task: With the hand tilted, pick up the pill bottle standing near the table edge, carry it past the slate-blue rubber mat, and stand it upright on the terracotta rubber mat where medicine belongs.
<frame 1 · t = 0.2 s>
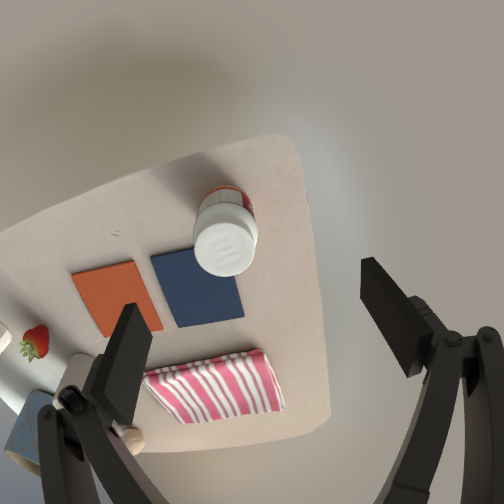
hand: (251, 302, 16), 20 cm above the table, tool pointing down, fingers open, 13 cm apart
planter: (59, 409, 54), on the table
garlic bulb: (135, 430, 57), on the table
slate blue mat: (199, 287, 39), on the table
fruit: (46, 326, 41), on the table
pill bottle: (226, 208, 35), on the table
terracotta mat: (117, 302, 39), on the table
pepper shaker: (3, 331, 41), on the table
mug: (97, 368, 46), on the table
dish towel: (213, 386, 49), on the table
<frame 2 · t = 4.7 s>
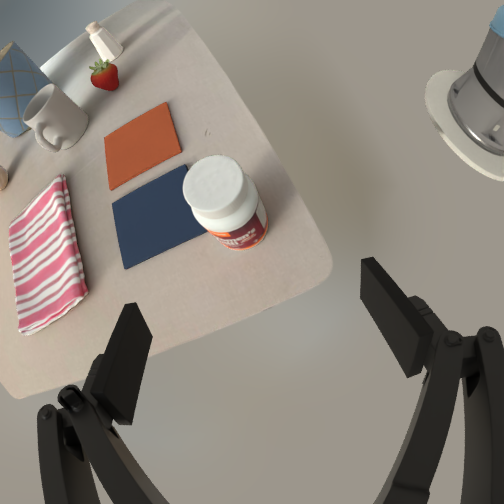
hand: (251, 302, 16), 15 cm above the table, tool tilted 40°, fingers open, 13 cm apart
planter: (33, 110, 52), on the table
garlic bulb: (5, 184, 47), on the table
slate blue mat: (155, 216, 36), on the table
fruit: (116, 89, 45), on the table
pill bottle: (242, 225, 33), on the table
terracotta mat: (139, 144, 39), on the table
pepper shaker: (114, 55, 49), on the table
mug: (72, 138, 44), on the table
dish towel: (46, 254, 39), on the table
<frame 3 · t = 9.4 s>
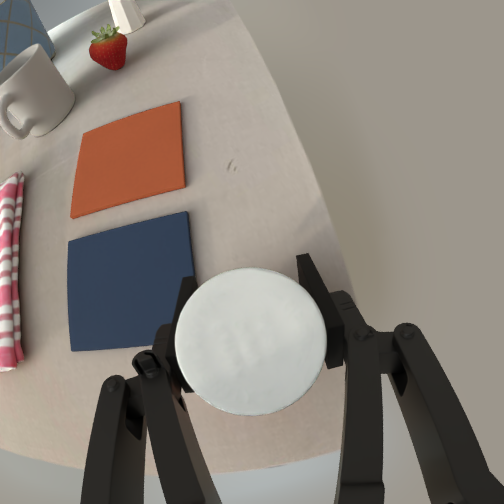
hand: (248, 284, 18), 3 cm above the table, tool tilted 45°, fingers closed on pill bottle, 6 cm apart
planter: (25, 76, 38), on the table
slate blue mat: (125, 285, 22), on the table
fruit: (119, 69, 32), on the table
pill bottle: (262, 343, 20), on the table, touching gripper
terracotta mat: (125, 156, 26), on the table
pepper shaker: (132, 28, 36), on the table
mug: (48, 123, 30), on the table
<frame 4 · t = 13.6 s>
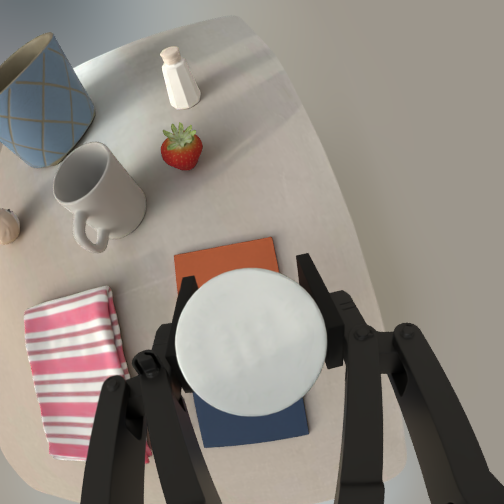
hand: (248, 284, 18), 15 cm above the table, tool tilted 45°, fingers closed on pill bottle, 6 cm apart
planter: (61, 134, 45), on the table
garlic bulb: (15, 233, 39), on the table
slate blue mat: (248, 403, 29), on the table
fruit: (190, 168, 39), on the table
pill bottle: (262, 343, 20), point 12 cm above the table, touching gripper
terracotta mat: (229, 292, 33), on the table
pepper shaker: (186, 100, 44), on the table
mug: (119, 223, 37), on the table
dish towel: (82, 380, 31), on the table
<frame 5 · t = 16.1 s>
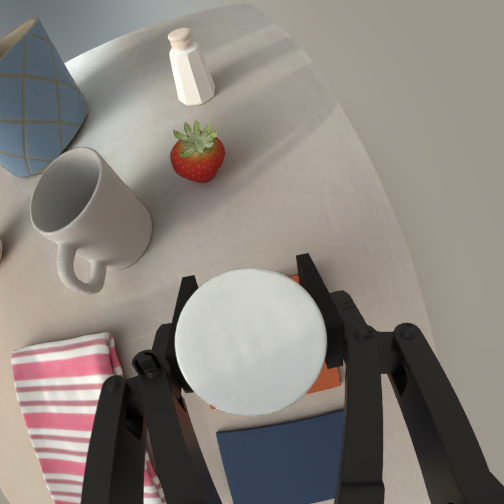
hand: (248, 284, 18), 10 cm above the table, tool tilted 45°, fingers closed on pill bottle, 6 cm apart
planter: (49, 136, 38), on the table
slate blue mat: (288, 467, 22), on the table
fruit: (207, 179, 32), on the table
pill bottle: (262, 343, 20), point 6 cm above the table, touching gripper
terracotta mat: (265, 342, 26), on the table
pepper shaker: (197, 94, 36), on the table
mug: (118, 249, 30), on the table
dish towel: (85, 437, 23), on the table
when the fingers open (4 cm above the table, at t = 18.0 s): pill bottle stays where it is, resting on terracotta mat.
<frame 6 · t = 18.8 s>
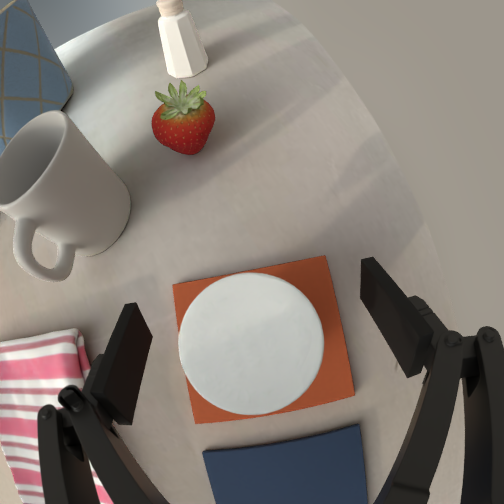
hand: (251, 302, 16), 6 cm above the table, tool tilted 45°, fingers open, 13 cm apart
planter: (32, 119, 32), on the table
slate blue mat: (290, 491, 17), on the table
fruit: (195, 152, 27), on the table
pill bottle: (261, 343, 20), resting on terracotta mat
terracotta mat: (261, 343, 21), on the table
pepper shaker: (188, 68, 31), on the table
mug: (93, 232, 25), on the table
dish towel: (56, 447, 18), on the table
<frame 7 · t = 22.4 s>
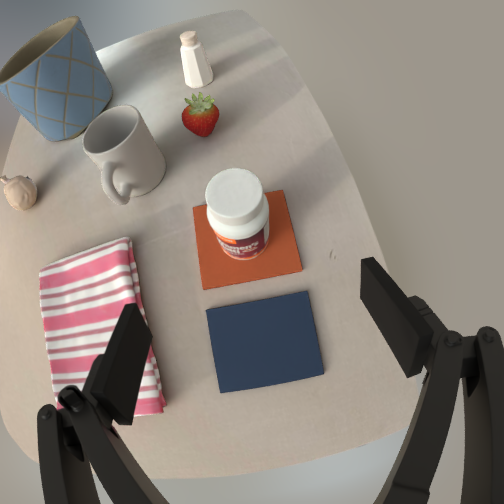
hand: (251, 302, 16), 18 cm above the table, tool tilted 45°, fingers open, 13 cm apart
planter: (78, 112, 48), on the table
garlic bulb: (31, 201, 42), on the table
slate blue mat: (264, 343, 32), on the table
fruit: (206, 135, 42), on the table
pill bottle: (244, 237, 36), resting on terracotta mat
terracotta mat: (244, 238, 36), on the table
pepper shaker: (200, 80, 47), on the table
mug: (139, 183, 40), on the table
dish towel: (96, 333, 34), on the table
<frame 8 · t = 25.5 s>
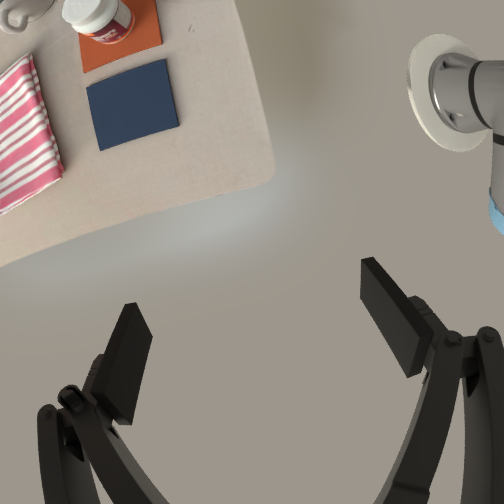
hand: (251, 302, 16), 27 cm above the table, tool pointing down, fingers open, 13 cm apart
slate blue mat: (130, 104, 33), on the table
pill bottle: (116, 26, 27), resting on terracotta mat
terracotta mat: (116, 26, 27), on the table
mug: (37, 9, 22), on the table
dish towel: (14, 133, 32), on the table
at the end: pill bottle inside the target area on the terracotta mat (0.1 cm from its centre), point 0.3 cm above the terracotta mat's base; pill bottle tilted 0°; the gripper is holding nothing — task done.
